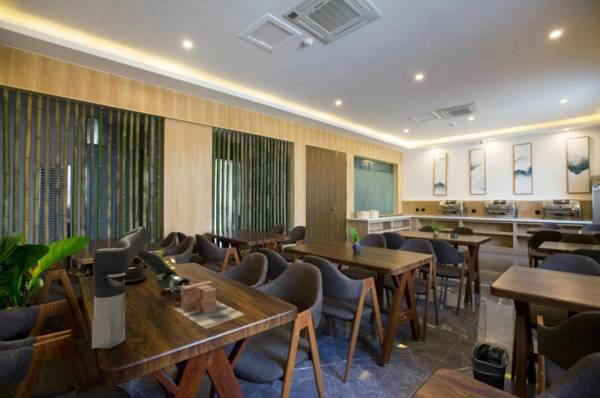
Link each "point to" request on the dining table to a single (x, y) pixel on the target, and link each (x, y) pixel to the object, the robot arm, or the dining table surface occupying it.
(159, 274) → the robot arm
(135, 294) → the dining table surface
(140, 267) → the casserole
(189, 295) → the T block
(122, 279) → the coffee mug
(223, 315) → the board
